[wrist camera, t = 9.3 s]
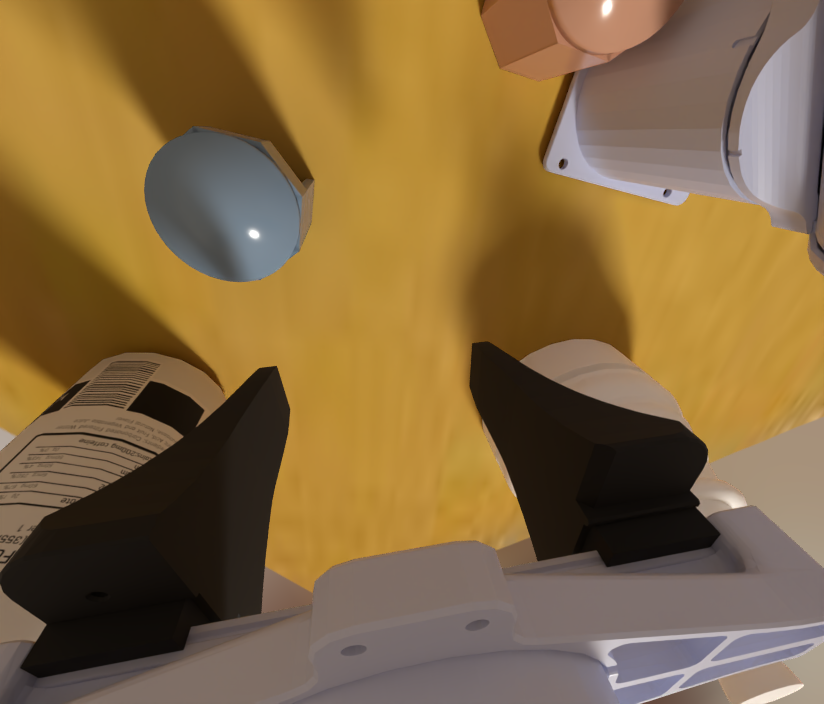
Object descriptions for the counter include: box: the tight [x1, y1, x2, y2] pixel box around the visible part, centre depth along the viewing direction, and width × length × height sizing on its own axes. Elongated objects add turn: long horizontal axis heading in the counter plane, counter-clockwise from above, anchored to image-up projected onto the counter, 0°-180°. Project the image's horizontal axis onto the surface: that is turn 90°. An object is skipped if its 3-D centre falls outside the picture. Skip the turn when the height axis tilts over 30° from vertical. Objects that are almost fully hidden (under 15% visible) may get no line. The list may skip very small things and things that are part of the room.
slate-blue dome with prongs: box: [144, 126, 314, 282], centre depth 15 cm, size 5×5×6 cm
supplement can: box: [0, 353, 226, 643], centre depth 17 cm, size 8×8×15 cm
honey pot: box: [482, 339, 804, 704], centre depth 21 cm, size 13×13×18 cm
